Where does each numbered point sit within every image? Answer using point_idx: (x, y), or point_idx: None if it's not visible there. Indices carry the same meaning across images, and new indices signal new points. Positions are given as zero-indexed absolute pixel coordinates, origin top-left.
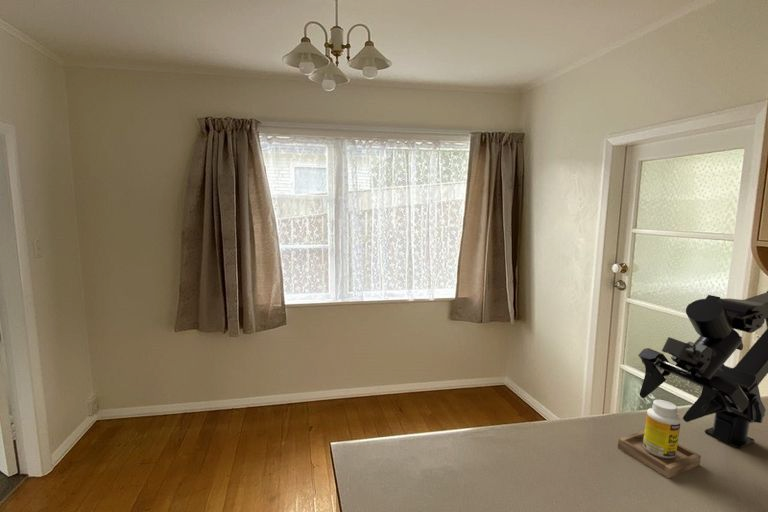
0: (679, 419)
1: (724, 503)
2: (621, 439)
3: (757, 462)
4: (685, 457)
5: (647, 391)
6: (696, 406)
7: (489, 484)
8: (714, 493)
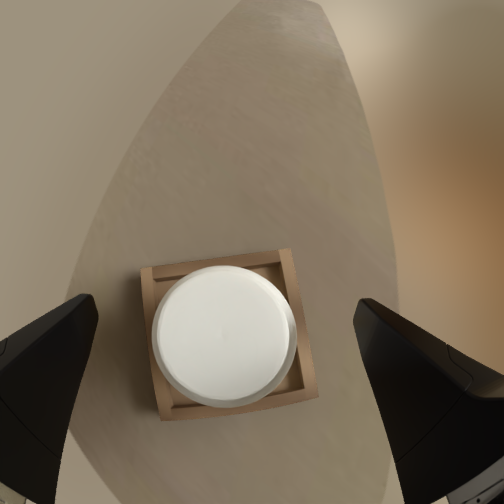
0: (161, 365)
1: None
2: (284, 252)
3: None
4: None
5: (374, 348)
6: (19, 337)
7: (241, 37)
8: None
